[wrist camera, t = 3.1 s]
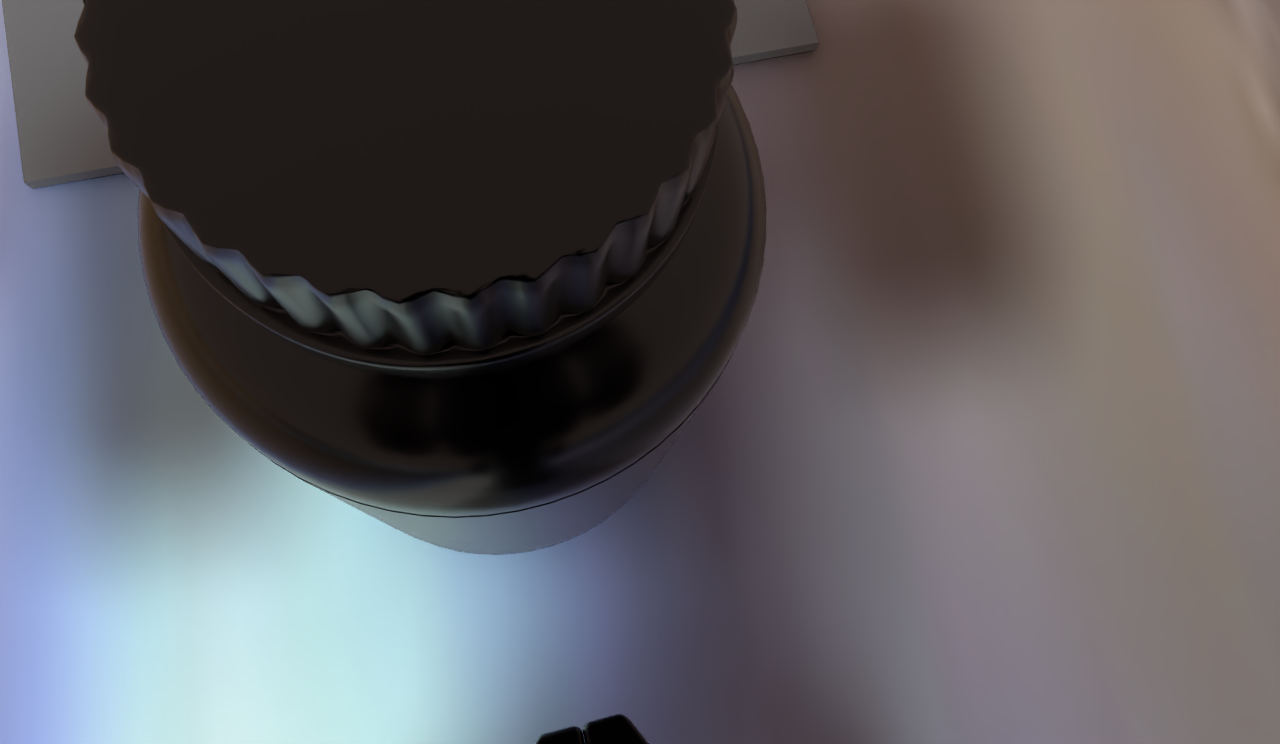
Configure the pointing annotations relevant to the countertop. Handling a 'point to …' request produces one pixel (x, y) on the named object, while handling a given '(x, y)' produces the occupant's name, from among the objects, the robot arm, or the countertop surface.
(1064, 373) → the countertop surface
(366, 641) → the countertop surface
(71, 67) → the metal sheet
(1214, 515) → the countertop surface
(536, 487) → the supplement bottle
